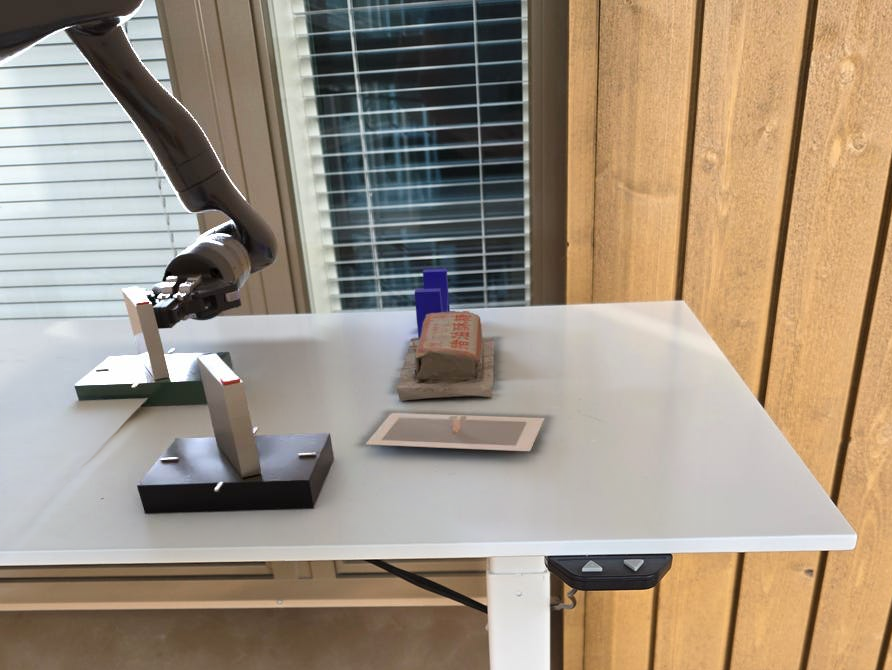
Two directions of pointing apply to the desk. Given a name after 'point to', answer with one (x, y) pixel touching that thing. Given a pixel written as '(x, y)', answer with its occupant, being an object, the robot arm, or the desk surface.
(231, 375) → the red-tipped upright panel
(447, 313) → the brown block with base
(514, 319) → the desk surface
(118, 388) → the green base plate
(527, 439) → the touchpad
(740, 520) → the desk surface
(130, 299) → the beige slab
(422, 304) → the blue stepped block
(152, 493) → the black square base
